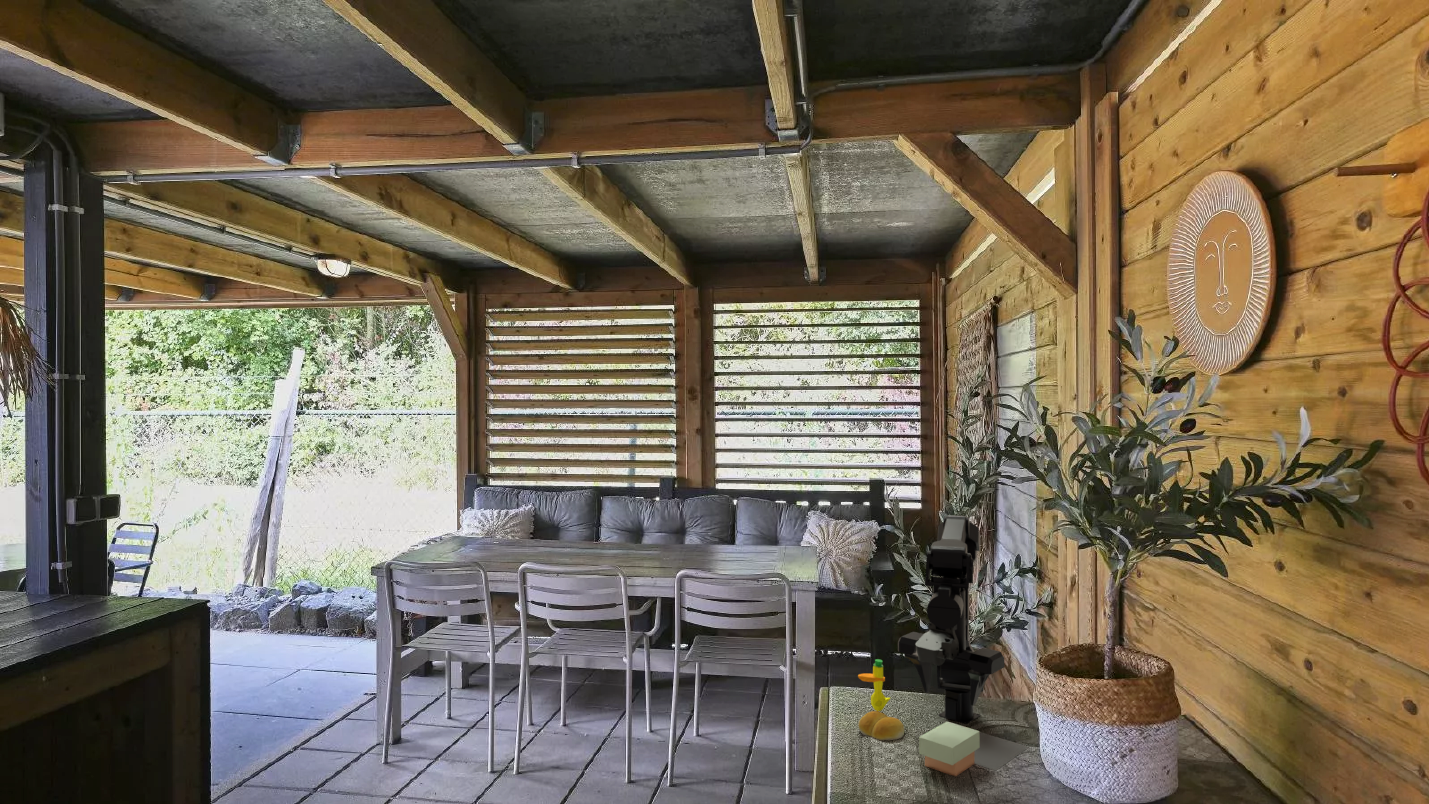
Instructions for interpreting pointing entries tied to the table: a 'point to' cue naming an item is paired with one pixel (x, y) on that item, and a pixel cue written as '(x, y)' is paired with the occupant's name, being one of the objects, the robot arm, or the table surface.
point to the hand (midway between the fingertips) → (949, 698)
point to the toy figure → (876, 685)
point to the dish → (951, 769)
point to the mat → (996, 751)
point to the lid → (949, 743)
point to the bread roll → (881, 726)
